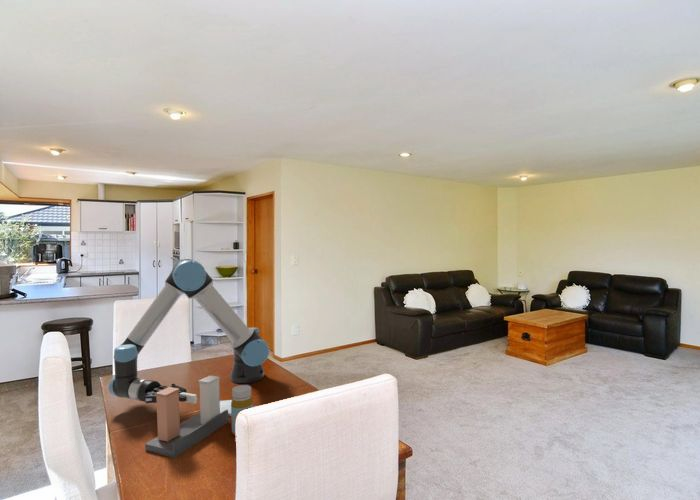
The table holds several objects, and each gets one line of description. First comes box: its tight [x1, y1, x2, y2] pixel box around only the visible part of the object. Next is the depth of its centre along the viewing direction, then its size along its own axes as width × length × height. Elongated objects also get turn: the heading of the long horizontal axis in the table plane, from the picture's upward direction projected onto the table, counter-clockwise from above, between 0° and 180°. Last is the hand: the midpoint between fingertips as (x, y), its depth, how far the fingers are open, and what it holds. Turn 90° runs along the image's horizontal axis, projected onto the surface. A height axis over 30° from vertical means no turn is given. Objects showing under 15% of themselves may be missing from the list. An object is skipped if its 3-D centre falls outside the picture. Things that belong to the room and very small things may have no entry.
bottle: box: [230, 384, 254, 437], centre depth 131 cm, size 7×7×15 cm
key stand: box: [144, 410, 229, 459], centre depth 130 cm, size 24×12×4 cm, turn 158°
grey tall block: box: [198, 375, 221, 424], centre depth 135 cm, size 5×4×15 cm
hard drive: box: [220, 399, 232, 417], centre depth 149 cm, size 2×8×12 cm
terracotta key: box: [155, 386, 181, 442], centre depth 124 cm, size 5×4×15 cm
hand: (195, 399), depth 137 cm, fingers closed
